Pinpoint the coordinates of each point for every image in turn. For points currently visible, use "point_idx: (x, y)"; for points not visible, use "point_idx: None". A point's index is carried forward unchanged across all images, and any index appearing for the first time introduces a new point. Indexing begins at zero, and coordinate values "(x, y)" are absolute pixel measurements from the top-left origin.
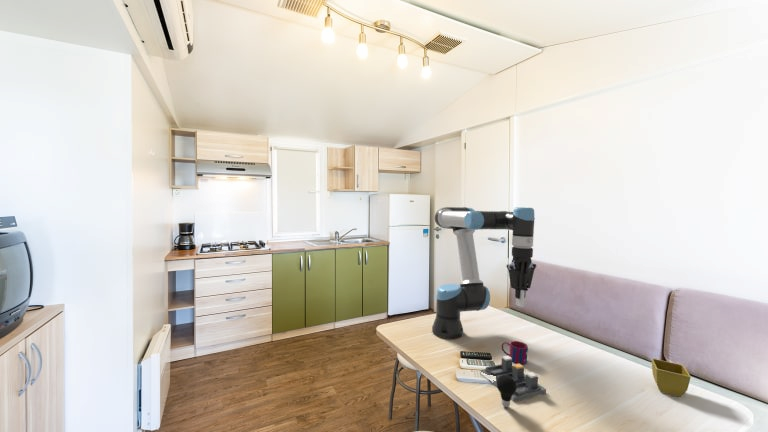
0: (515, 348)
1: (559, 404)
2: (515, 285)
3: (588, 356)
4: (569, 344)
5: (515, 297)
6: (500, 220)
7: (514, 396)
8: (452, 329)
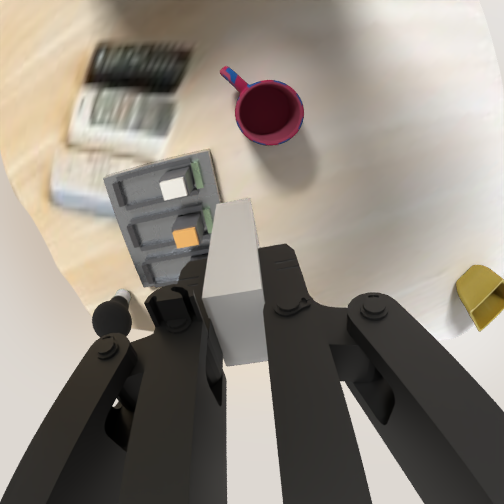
0: (241, 130)
1: None
2: (121, 432)
3: (473, 142)
4: (480, 75)
5: (188, 262)
6: None
7: (146, 286)
8: None
